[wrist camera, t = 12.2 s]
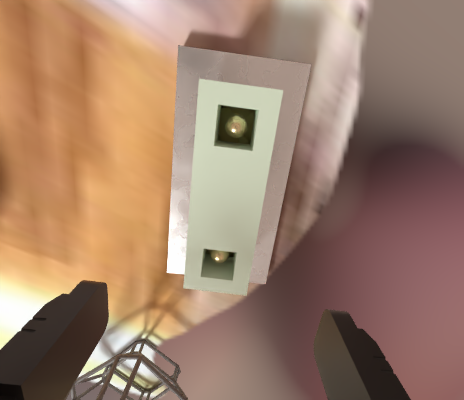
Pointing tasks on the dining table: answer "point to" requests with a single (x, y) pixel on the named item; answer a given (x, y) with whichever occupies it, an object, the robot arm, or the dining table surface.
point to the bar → (228, 186)
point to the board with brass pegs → (233, 130)
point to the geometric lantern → (116, 362)
